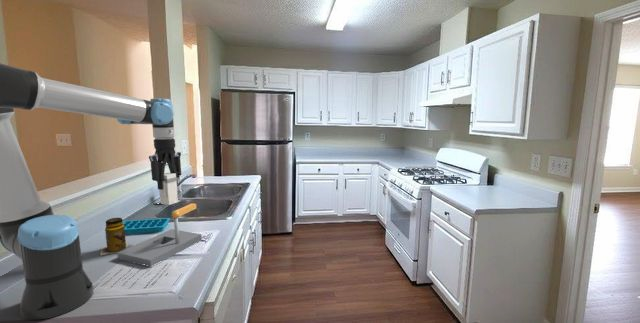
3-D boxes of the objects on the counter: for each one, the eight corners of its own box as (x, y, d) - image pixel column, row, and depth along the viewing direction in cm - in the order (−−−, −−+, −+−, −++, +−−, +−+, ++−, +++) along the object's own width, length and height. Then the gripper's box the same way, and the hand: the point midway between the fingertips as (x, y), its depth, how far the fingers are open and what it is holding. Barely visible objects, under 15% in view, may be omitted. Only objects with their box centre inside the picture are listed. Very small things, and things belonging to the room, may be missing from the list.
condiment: (127, 250, 113) (124, 220, 112) (100, 256, 109) (96, 224, 107) (127, 243, 119) (124, 215, 118) (101, 248, 115) (97, 219, 113)
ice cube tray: (124, 227, 138) (123, 220, 137) (171, 223, 142) (170, 217, 142) (112, 237, 127) (111, 230, 126) (164, 233, 131) (163, 226, 131)
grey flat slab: (151, 267, 101) (150, 260, 100) (118, 259, 106) (117, 252, 106) (201, 240, 123) (201, 234, 123) (172, 234, 129) (171, 229, 128)
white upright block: (169, 205, 119) (166, 175, 117) (160, 203, 120) (157, 174, 118) (178, 201, 123) (176, 173, 121) (169, 200, 125) (167, 172, 123)
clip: (172, 243, 113) (170, 212, 112) (193, 231, 125) (191, 203, 123) (177, 243, 113) (175, 213, 111) (198, 231, 125) (196, 203, 123)
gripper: (151, 140, 108) (156, 202, 112) (188, 137, 124) (192, 190, 128) (136, 139, 111) (142, 200, 114) (175, 136, 127) (179, 189, 131)
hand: (168, 195), depth 121 cm, fingers closed on white upright block, 5 cm apart
